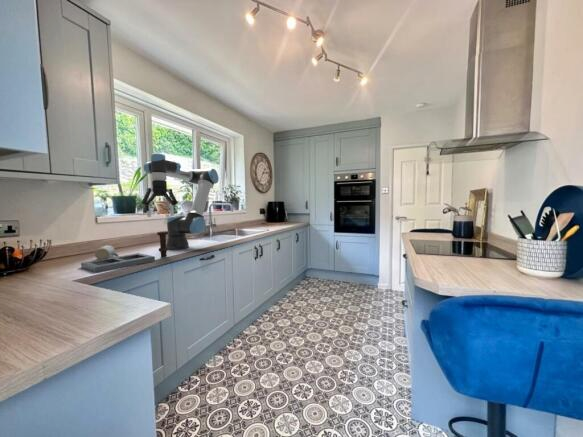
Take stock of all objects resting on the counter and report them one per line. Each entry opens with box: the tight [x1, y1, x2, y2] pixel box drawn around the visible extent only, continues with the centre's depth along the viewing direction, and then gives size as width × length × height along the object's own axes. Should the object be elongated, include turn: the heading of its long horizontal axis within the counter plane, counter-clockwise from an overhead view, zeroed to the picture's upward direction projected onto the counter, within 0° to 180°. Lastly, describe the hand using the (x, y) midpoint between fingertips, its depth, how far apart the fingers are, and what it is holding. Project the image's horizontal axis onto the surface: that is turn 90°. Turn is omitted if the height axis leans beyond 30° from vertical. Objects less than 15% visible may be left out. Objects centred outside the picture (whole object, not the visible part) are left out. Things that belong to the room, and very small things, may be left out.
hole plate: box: [80, 252, 156, 274], centre depth 129 cm, size 27×19×2 cm
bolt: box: [156, 231, 169, 258], centre depth 145 cm, size 6×5×15 cm
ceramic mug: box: [94, 244, 119, 260], centre depth 143 cm, size 11×8×8 cm
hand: (161, 216), depth 144 cm, fingers open, 13 cm apart
